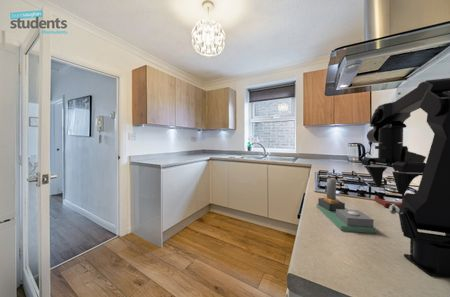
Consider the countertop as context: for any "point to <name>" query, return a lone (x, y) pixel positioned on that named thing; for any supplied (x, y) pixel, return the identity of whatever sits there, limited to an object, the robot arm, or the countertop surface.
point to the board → (342, 225)
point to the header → (331, 205)
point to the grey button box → (354, 218)
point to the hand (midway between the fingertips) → (389, 190)
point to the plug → (331, 191)
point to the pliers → (388, 204)
